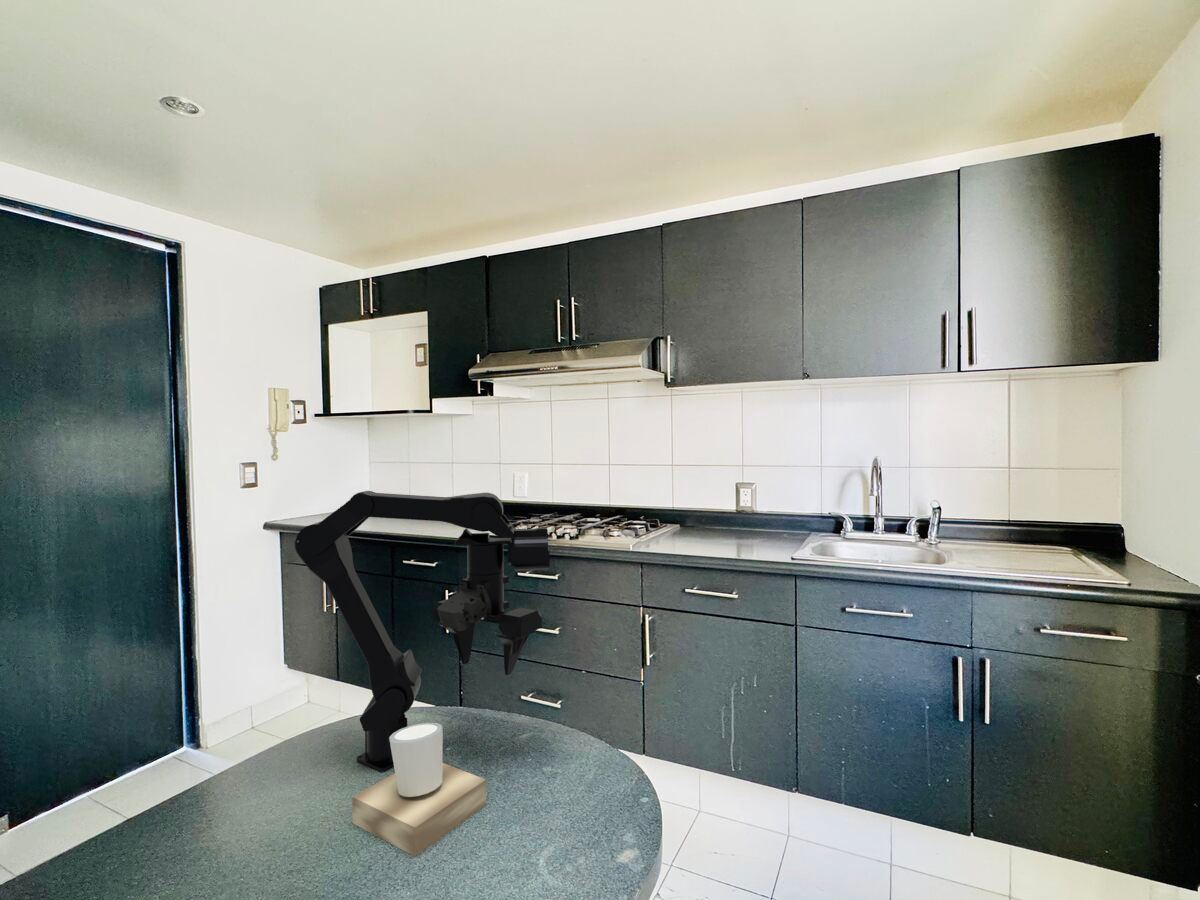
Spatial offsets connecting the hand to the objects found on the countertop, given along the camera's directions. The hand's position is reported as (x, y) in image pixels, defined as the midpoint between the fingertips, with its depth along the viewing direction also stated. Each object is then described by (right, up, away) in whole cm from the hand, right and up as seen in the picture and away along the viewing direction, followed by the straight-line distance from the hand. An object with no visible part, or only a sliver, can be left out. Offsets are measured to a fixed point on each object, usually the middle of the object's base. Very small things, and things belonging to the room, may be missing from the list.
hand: (486, 668), depth 95 cm
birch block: (-6, -14, -16) cm, 22 cm away
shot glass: (-6, -10, -17) cm, 20 cm away
